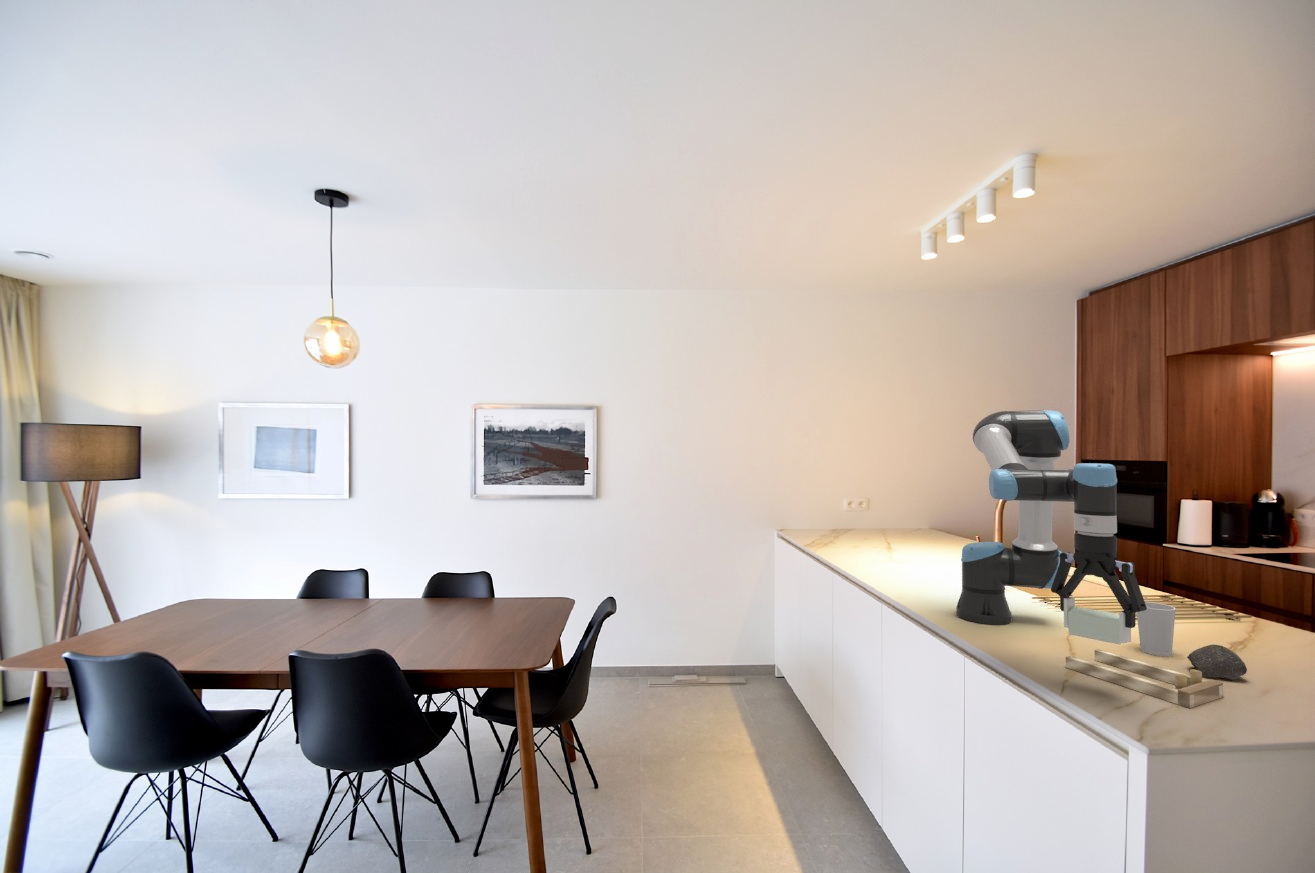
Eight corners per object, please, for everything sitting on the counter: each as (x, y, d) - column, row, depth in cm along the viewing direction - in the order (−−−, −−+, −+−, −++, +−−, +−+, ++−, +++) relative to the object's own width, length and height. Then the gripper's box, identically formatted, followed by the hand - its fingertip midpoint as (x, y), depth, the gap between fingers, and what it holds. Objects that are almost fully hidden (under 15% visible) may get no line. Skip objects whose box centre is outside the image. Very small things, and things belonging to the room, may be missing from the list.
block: (1068, 634, 128) (1068, 611, 128) (1075, 628, 132) (1074, 606, 132) (1119, 644, 121) (1119, 620, 121) (1125, 638, 125) (1124, 615, 125)
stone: (1182, 684, 138) (1192, 665, 132) (1183, 652, 143) (1193, 633, 136) (1239, 701, 133) (1253, 682, 126) (1238, 667, 137) (1251, 647, 131)
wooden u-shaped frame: (1065, 667, 139) (1065, 646, 139) (1098, 659, 144) (1098, 639, 144) (1190, 708, 117) (1189, 683, 117) (1223, 696, 122) (1222, 673, 123)
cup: (1184, 658, 145) (1183, 610, 145) (1148, 656, 146) (1147, 608, 147) (1163, 647, 153) (1162, 602, 153) (1129, 645, 154) (1128, 600, 154)
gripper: (1032, 527, 136) (1032, 621, 135) (1147, 542, 115) (1148, 654, 114) (1052, 525, 139) (1053, 617, 138) (1168, 540, 118) (1169, 648, 118)
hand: (1096, 633), depth 126 cm, fingers closed on block, 10 cm apart
